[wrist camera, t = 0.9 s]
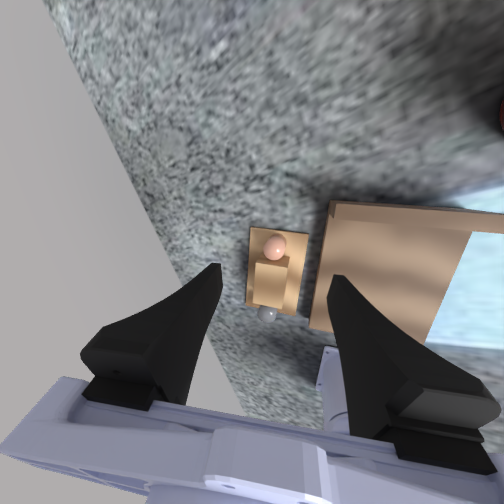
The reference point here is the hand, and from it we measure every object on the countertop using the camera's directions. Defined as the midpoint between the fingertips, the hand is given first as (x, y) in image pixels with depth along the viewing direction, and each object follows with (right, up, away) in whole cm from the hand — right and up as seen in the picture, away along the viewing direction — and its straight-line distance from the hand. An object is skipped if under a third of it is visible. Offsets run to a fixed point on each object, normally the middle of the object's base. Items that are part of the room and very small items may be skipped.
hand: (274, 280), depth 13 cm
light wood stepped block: (+15, -1, +13) cm, 20 cm away
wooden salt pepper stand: (+2, -1, +17) cm, 17 cm away
